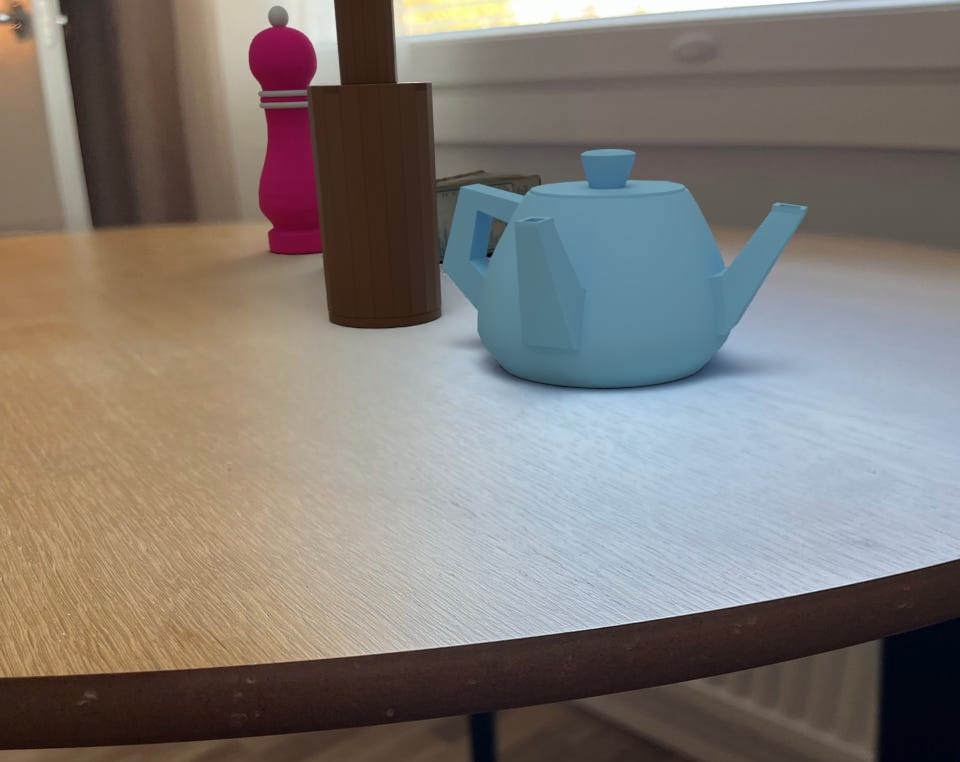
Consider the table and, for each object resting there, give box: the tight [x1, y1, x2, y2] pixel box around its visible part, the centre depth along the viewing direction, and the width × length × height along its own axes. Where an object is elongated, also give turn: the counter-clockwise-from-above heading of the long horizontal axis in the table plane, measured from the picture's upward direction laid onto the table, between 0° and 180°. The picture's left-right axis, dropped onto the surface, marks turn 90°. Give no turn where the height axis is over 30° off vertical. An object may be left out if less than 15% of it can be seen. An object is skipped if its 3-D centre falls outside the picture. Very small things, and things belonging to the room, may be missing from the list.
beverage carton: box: [436, 169, 542, 262], centre depth 91 cm, size 8×19×7 cm, turn 125°
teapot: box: [441, 148, 809, 389], centre depth 55 cm, size 15×15×11 cm
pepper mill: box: [248, 5, 322, 255], centre depth 94 cm, size 7×7×20 cm
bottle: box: [306, 0, 442, 329], centre depth 66 cm, size 8×8×19 cm
